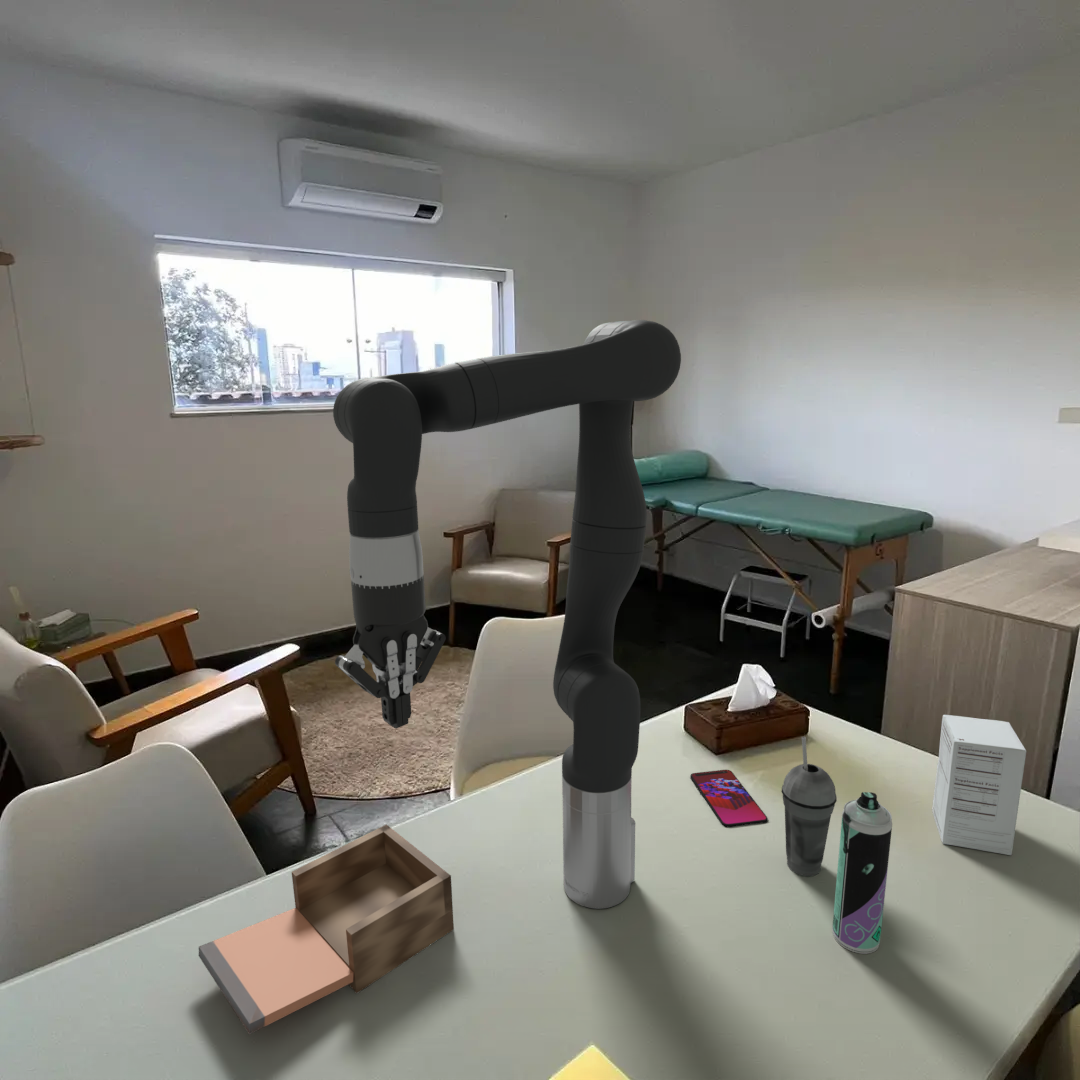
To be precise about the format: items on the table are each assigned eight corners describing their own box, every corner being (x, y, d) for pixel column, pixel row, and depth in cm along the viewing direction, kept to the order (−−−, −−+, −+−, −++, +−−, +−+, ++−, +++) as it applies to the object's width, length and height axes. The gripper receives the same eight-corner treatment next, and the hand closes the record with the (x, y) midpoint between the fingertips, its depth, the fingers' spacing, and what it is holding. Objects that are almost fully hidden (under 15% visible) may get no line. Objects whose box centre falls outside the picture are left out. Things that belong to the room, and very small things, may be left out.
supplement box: (1013, 857, 106) (1029, 751, 102) (941, 845, 108) (954, 741, 105) (996, 819, 114) (1010, 720, 110) (930, 808, 117) (941, 712, 113)
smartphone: (723, 825, 113) (688, 773, 128) (723, 830, 114) (688, 777, 128) (770, 819, 115) (730, 768, 129) (769, 824, 115) (730, 773, 129)
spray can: (858, 960, 88) (873, 812, 83) (822, 930, 93) (834, 789, 88) (889, 943, 90) (905, 799, 86) (852, 915, 95) (865, 777, 90)
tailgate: (295, 907, 94) (198, 946, 86) (353, 972, 84) (249, 1023, 76) (295, 916, 95) (198, 955, 86) (353, 981, 84) (249, 1034, 76)
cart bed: (390, 873, 105) (386, 824, 103) (453, 929, 94) (450, 875, 92) (297, 925, 95) (291, 871, 93) (356, 993, 85) (351, 934, 83)
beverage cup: (835, 886, 100) (846, 754, 96) (779, 879, 102) (788, 749, 97) (826, 852, 107) (836, 727, 103) (774, 846, 109) (781, 723, 104)
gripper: (348, 594, 70) (362, 759, 74) (459, 567, 79) (466, 715, 83) (311, 579, 75) (326, 733, 79) (419, 555, 84) (427, 695, 88)
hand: (397, 723), depth 81 cm, fingers closed
